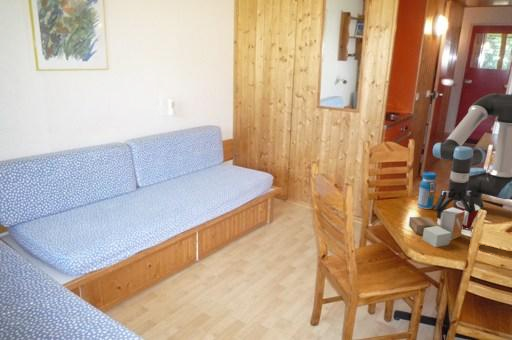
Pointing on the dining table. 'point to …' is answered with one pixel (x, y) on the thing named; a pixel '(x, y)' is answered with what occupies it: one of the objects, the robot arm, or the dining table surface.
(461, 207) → the plastic cup
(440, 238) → the grey block
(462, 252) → the dining table surface
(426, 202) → the beverage bottle
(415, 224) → the walnut block
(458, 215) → the small box
